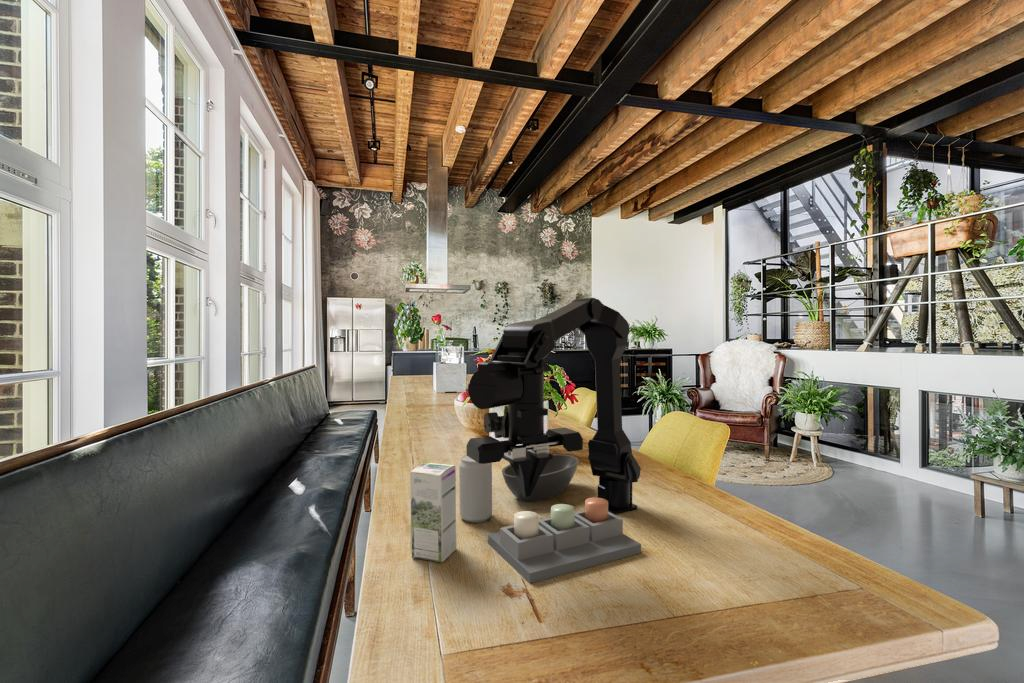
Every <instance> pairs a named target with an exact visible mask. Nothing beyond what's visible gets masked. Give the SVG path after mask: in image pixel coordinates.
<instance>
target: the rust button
mask: <svg viewBox="0 0 1024 683" xmlns="http://www.w3.org/2000/svg"><path fill="white" fill-rule="evenodd" d="M584 510H585V519H587V520H588V521H590V522H592V523H593V524H594V523H598V522H603V521H607V520H608V512H609V511H608V501H607V500H605V499H603V498H598V497H588V498H586V499H585V501H584Z"/></svg>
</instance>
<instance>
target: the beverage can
mask: <svg viewBox="0 0 1024 683" xmlns="http://www.w3.org/2000/svg"><path fill="white" fill-rule="evenodd" d="M460 460H461V461H460V462H459V464H458V473H459V474H458V476H459V478H458V479H459V483H458V484H459V486H458V488H459V492H458V493H459V494H458V495H459V516H460V518H462V519H463V520H464V521H465V522H469V523H482V522H485V521H487V519H488V520H489V519H490V518H491V516H492V515H493V466H492V465H493V463H486V464H480V463H478V462H476V461H475V460H473V459H471V458H470V457H468V456H467V454H466V455H465V454H464V455H462V456H461V457H460Z"/></svg>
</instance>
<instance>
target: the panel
mask: <svg viewBox="0 0 1024 683" xmlns="http://www.w3.org/2000/svg"><path fill="white" fill-rule="evenodd" d="M623 522H624V519H623V518H621V517H619V516H618V515H616V514H615V513H611V512H609V511H608V520H607V521H603V522H598V523H594V524H593V523H592V522H590V521H588V520H587V519H585V509H584V510H580V511H575V528H572V529H567V530H563V531H557V530H555V529H554V528H553V527H551V516H550V517H546V518H541V519H539V536H536V537H532V538H527V539H523V540H520V539H518V538H517V537H516V536H515V535H514V524H513V525H508V526H503V527H500V528H499V531H498V532H494V533H489V534H487V543H488V545H489V546H490V547H491V548H493V550H495V551H496V553H497V554H499V555H500V556H501V557H502V558H503V559H504V560H505V561H506V562H507V563H508V564H509V565H511V567H512V568H513V569H514V570H515V571H516V572H517V573H519V575H521V576H522V577H523V578H524V579H525V580H526V581H527V582H528V583H529V584H533V583H535V582H536V583H537V582H539V581H544V580H547V579H551V578H555V577H559V576H561V575H565V574H569V573H573V572H576V571H580V570H584V569H588V568H591V567H595V566H599V565H602V564H606V563H609V562H613V561H616V560H617V561H618V560H622V559H625V558H627V557H631V556H635V555H639V554H641V553H642V544H641V543H640V542H639V541H637V540H635V539H633V538H632V537H629V536H628V535H626V534H624V533H623V532H624V531H623V529H624V528H623V527H624V526H623V525H624V523H623Z"/></svg>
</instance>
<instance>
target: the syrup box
mask: <svg viewBox="0 0 1024 683" xmlns="http://www.w3.org/2000/svg"><path fill="white" fill-rule="evenodd" d="M456 469H457V468H456V465H455V464H445V463H435V462H424V463H421V464H420V465H418V466H416V467H415V468H413V469H412V470H410V474H409V475H410V477H409V478H410V480H409V481H410V526H411V527H410V529H411V530H410V531H411V532H410V534H411V535H410V536H411V558H413V559H418V560H424V561H431V562H436V563H443V562H445V561H446V559H448V558H449V557H450V556H451V555H452V554H453V553H454V551H456V550H457V515H456V514H457V513H456V512H457V511H456V510H457V509H456V508H457V507H456V506H457V503H456V502H457V496H456V495H457V494H456V493H457V477H456V476H457V474H456V473H457V472H456Z"/></svg>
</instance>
